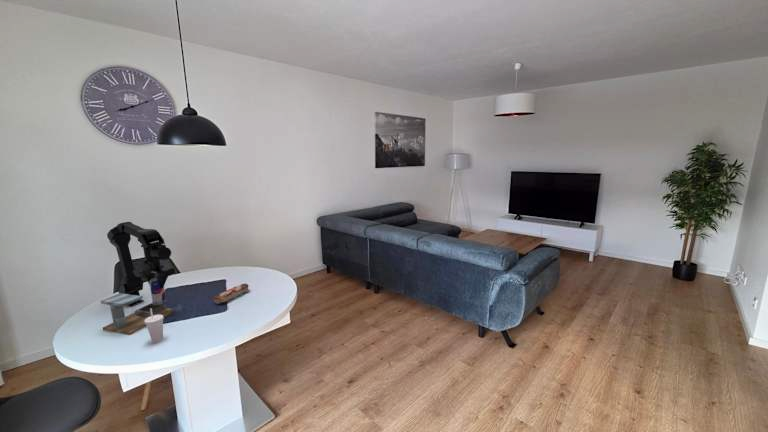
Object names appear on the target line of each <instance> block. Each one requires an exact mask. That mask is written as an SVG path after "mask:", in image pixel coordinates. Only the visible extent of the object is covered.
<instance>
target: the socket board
mask: <svg viewBox="0 0 768 432" xmlns="http://www.w3.org/2000/svg"><path fill="white" fill-rule="evenodd" d="M140 299H141V300H143V296H142V295H140V296H138V295H130V294H122V293H119V292H118V293H117V294H114V295H112V296H110V297H107V298H105V299H101V300H100V304H103V305H109V309H110V313H111V319H112V323H109V324H107V325H105V326H103V327H102V331H106V332H111V333H112V332H113V333H115V334H116V333H118V334H122V335H129V336H131V335H134V333H137V332H138V331H140V330H142V329H144V328H147V326H146V324H145V319H146V318H148V317H150V316H151V312H150V308H152V313H153V315H163V317H164V318H165V317H167V316H168V315H171V314H172V313H174V312H175V309H174V308H169V307H167V304H165V303H162V304H158V305H154V304H153V302H151V303H149V304H146V305H144V306H142V307H139V308H138V309H136V310H134V312H132V313H130V314H128V315H126V314H125V310H124V308H125V307H128V306H127V305H129V304H131V303H134V302H136V301H138V300H140Z"/></svg>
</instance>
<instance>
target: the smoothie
mask: <svg viewBox="0 0 768 432" xmlns="http://www.w3.org/2000/svg"><path fill="white" fill-rule="evenodd" d="M150 312H151V316H150V317H148V318H146V319H145V324H146V328H147V331H148V333H149V336H150V339H151V341H152V343H158V342H161V341H162V340H163V339H164V318H165V317H163V315H153V313H152V308H150Z"/></svg>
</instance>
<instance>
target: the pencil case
mask: <svg viewBox="0 0 768 432" xmlns="http://www.w3.org/2000/svg"><path fill="white" fill-rule="evenodd" d="M249 287H250V286H249V284H248V283H242V284H240V285H239V284H238V285H236V286H234V287H232V288H228V289H227V290H225V291H223V292H221V293H219V294H216V296H215V297H213V300H214V303H215V304H217V305H220V304H223V303H227V302H229V301H231V300H233V299H234V298H237V297H238V296H240V295H243V294H245V293H246V292H248V291H249Z"/></svg>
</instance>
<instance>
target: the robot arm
mask: <svg viewBox="0 0 768 432" xmlns="http://www.w3.org/2000/svg"><path fill="white" fill-rule="evenodd" d="M106 236H107V239H108V241H109V243H110V244H111V245H112V246H113V247H114V248H115V249H116V252H117V256H118V260H119V264H120V268H121V272H122V277H121V279H120V287H119V288H118V290H117V292H118V294H119V293H122V294H130V295H138V296H141V295H140V291H143V289H144V280H143V279H142V278H145V280H146V281H147V283H148V284H149V286H150V283H149V282H150V279H153V278H157V279H158V280H159V285H160V288H163V287H164V288H165V284H166V282H167V279H168V277H169V276H172V275H174V274H176V273H177V272H176V268H174V267H172V266H171V267H170V266H166V267H164V265H163V264H162V261H161V260H163V261H164V260H169V258H170V257H171V255H172V250H171V249H170V247H167V245H166V243H165V239H164V238H163V237H162V235H161V234H160V232H159V231H158V230H157V229H154V228H153V229H152V228H143V227H141V226H139V225H136V224H134V223H133V222H132V221H125V222H120V223H118V224H116V226H114V227H113V228H111V229H109V231H108V232H107V233H106ZM132 236H133V237H135V238H137V242H139V243H140V244H141V245H140V247H141V248H143V249H142V250H143V256H144V259H143V260H142V264H140V265H139V266H136V267H135V266H134V263H133V262H134V261H133V259H132V254H131V251H130V247H129V244H130V243H131V240H132ZM156 274H157V275H156ZM144 301H145V300H144V299H140V300H138V301H136V302H134V303H131V304H129V305H127V306H126V307H134V306H136V305H139V304H141V303H144Z"/></svg>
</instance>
